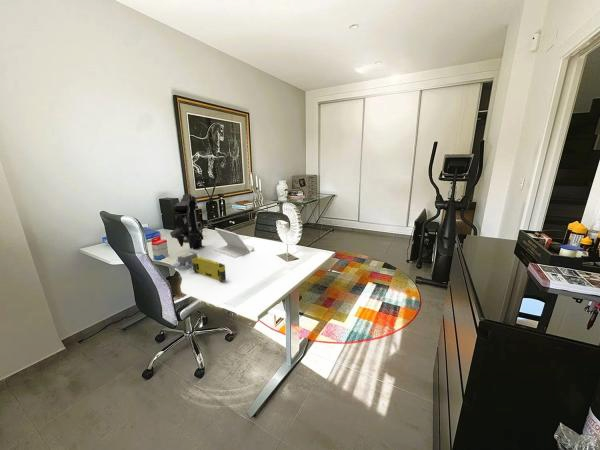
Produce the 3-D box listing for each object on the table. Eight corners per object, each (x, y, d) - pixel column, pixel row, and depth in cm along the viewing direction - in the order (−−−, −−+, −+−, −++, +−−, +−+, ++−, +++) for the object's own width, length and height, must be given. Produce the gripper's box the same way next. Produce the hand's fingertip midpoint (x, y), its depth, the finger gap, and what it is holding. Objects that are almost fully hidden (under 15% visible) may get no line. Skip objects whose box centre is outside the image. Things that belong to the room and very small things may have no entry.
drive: (192, 259, 162) (191, 251, 160) (197, 260, 159) (196, 253, 158) (178, 264, 153) (177, 256, 152) (184, 266, 151) (183, 258, 149)
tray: (193, 258, 166) (193, 253, 165) (204, 261, 161) (204, 256, 160) (171, 266, 152) (170, 261, 152) (182, 270, 147) (182, 264, 146)
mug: (187, 243, 196) (185, 225, 192) (177, 241, 203) (175, 223, 199) (207, 237, 212) (206, 221, 208) (198, 235, 219) (196, 219, 215)
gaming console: (228, 280, 135) (226, 263, 132) (222, 283, 131) (220, 266, 129) (198, 270, 147) (196, 254, 145) (191, 273, 144) (190, 257, 141)
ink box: (159, 260, 163) (156, 239, 159) (153, 259, 164) (150, 238, 160) (169, 255, 171) (166, 235, 167) (162, 255, 172) (160, 235, 168)
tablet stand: (234, 258, 167) (233, 234, 163) (213, 250, 182) (211, 228, 178) (254, 250, 181) (253, 228, 177) (233, 244, 196) (232, 223, 192)
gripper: (161, 224, 148) (165, 248, 151) (181, 228, 139) (184, 254, 142) (178, 221, 157) (181, 244, 161) (198, 224, 148) (200, 248, 152)
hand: (186, 247), depth 154 cm, fingers open, 9 cm apart
